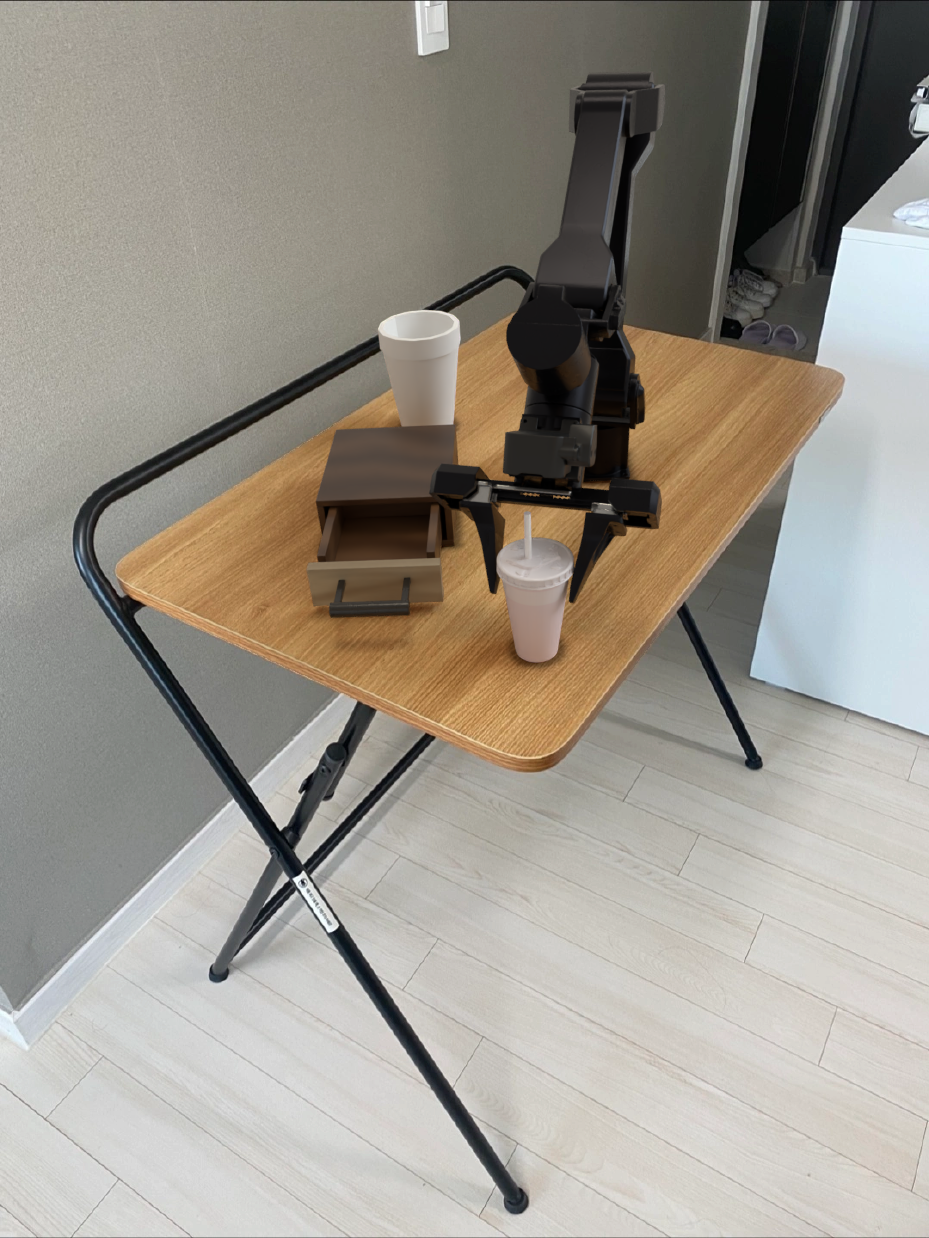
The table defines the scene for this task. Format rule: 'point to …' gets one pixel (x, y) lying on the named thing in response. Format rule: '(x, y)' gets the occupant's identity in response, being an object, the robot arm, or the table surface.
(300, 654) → the table surface
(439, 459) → the cabinet
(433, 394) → the foam cup
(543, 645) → the smoothie
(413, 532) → the drawer
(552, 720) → the table surface
